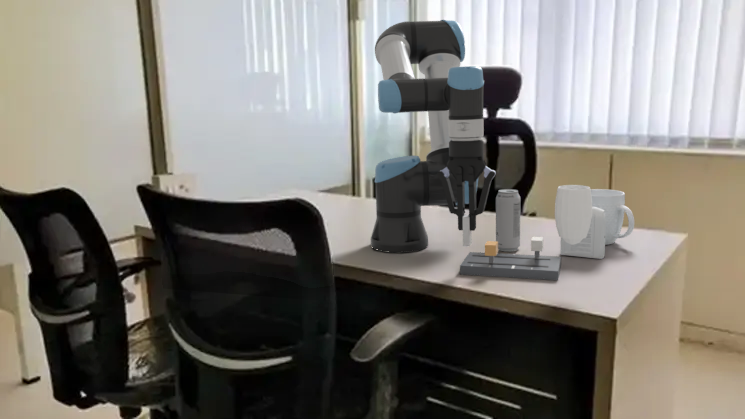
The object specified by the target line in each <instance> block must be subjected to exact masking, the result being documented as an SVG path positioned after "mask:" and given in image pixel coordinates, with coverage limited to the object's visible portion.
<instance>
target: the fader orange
mask: <svg viewBox="0 0 745 419" xmlns="http://www.w3.org/2000/svg"><path fill="white" fill-rule="evenodd" d="M484 253H485V256H489V263H494V256H496V255H497V253H499V250H498V241H496V240H495V241H494V240H491V241H490V240H487V241H486V242H485V244H484Z"/></svg>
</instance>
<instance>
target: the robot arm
mask: <svg viewBox="0 0 745 419" xmlns="http://www.w3.org/2000/svg"><path fill="white" fill-rule="evenodd" d="M464 36H465V35H464V31H463V28H462V26H461V24H460V23H459V22H458V21H456V20H447V19H441V20H427V21H425V20H424V21H423V20H421V21H419V20H418V21H402V22H398V23H395V24H393V25H391V26H389V27H388V28H386V29H385V30H384V31H383V32H382V33H381V34H380V35H379V36H378V38H377V39H376V42H375V45H374V56H375V59H376V61H377V63H378V65H380V67H381V73H382V78H383V79H382V80H380V81H379V82H378V84H377V99H378V100H377V101H378V109H379V111H380V112H381V113H384V114H385V113H389V114H391V113H392V114H398V113H399V114H400V113H419V112H420V113H421V112H427V115H428V117H427V118H428V126H429V138H430V139H429V140H430V150H429V152H428V153H427V154H426V157H425V158H426V161H425V160H422V161H421V158H420V156H419V155H406V156H405V155H403V156H397V157H393V158H392V157H391V158H389V159H384V160H382V161H380V162H378V163H377V165H376V166H375V174H374V175H375V176H374V183H375V201H376V202H375V205H376V208H375V209H376V218H375V223H374V226H373V230H372V233H371V236H370V247H371V246H372V247H373V248H375V249H378V250H382V251H389V252H388V253H393V252H401V253H411V252H417V251H421V250H423V249H426V248H427V247H428V246H429V236H428V234H427V231H426V228H425V224H424V222H423V219H422V207H427V206H429V207H430V206H431V207H432V206H447V207H448V211H449V213H450V214H453V215H456V216H457V229H458V231H462V246H463V247H470V246H471V245H472V242H473V241H472V231H475V230H476V228H477V216H478V215H481V214H483V213H484V212H485V209H486V205H487V201H488V196H489V192H490V189H491V184H492V180H493V179H494V178H495V177H496V174H497V171H496V170H494V169H491V168H490V167H488V166H487V162H486V161H485V154H484V153H485V151H484V150H485V146H484V145H485V144H484V143H485V142H484V140H483V139H482V138H483V137H484V131H485V129H484V126H485V125H484V120H485V119H484V85H485V80H484V72H483V69H482V67H481V66H473V65H471V66H461V63H462V62H463V61H464V60H465V56H466V45H465V44H466V40H465V37H464ZM413 65H417V66H418V71H419V72H420V73H421V74H423V75H424V78H416V77H415V75H414V74H415V73H414V71H413V67H412V66H413ZM483 172H484V174H483V177H484V182H483V184H482V185H483V186H482V190H481V193H480V197H479V202H478V207H477V191H478V187H479V186H478V184H479V178H480V176H481V175H482V173H483ZM466 205H468V214H465V213H466V208H465V207H466ZM373 248H372V249H373ZM375 249H374V250H375ZM382 251H381V252H382Z"/></svg>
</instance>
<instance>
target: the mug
mask: <svg viewBox="0 0 745 419" xmlns="http://www.w3.org/2000/svg"><path fill="white" fill-rule="evenodd" d="M590 190H591V197H592V206H593V207H597V208H600V209H602V210H604V211H605V216H606V232H605V246H606V245H607V246H609V245H613V244H614V243H615V242H616V241H617V240H618V239H623V238H627V237H628V236H630V235H631V234H632V233H633V231H634V228H635V218H634V214H633V211H632V210H631V209H630V208H629V207H628V206H626V205H625V204H626V203H625V202H626V201H625V200H626V199H625V198H626V194H625V192H624V191H621V190H617V189H605V188H602V189H601V188H595V189H594V188H592V189H591V188H590ZM625 214H626V216H627V221H628V226H627V230H626V232H624V233H622V234H620V233H621V231H622V228H623V223H624V218H625Z"/></svg>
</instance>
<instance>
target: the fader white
mask: <svg viewBox="0 0 745 419" xmlns="http://www.w3.org/2000/svg"><path fill="white" fill-rule="evenodd" d="M543 249H544V236H532V237H531V239H530V251H531V252H534V255H535V258H539V257H540V256H541V255H540V254H541V253H540V252H543Z"/></svg>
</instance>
